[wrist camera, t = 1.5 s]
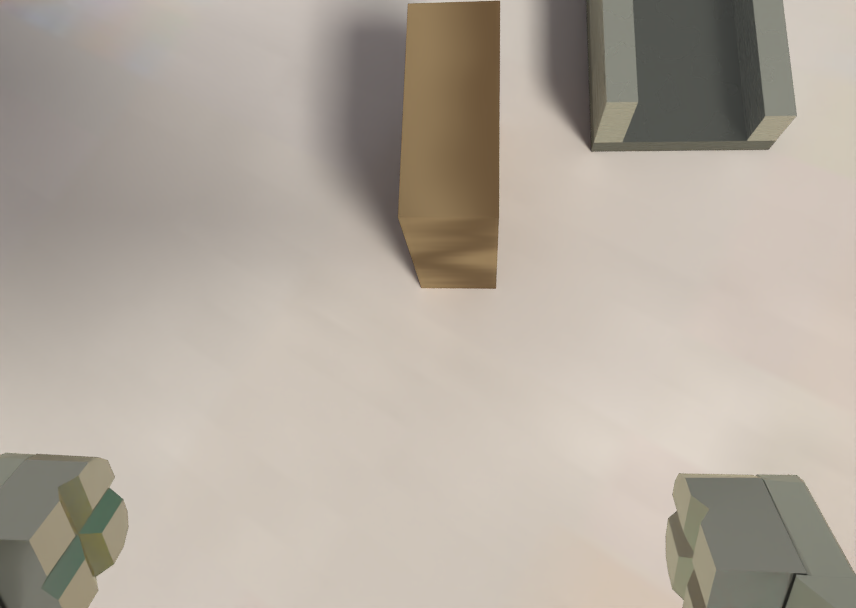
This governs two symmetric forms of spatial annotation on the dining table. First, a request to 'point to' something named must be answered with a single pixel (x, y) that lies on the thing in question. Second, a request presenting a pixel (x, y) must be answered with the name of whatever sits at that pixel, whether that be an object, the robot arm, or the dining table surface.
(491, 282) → the brown rectangular block
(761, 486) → the robot arm
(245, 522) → the dining table surface
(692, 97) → the track
